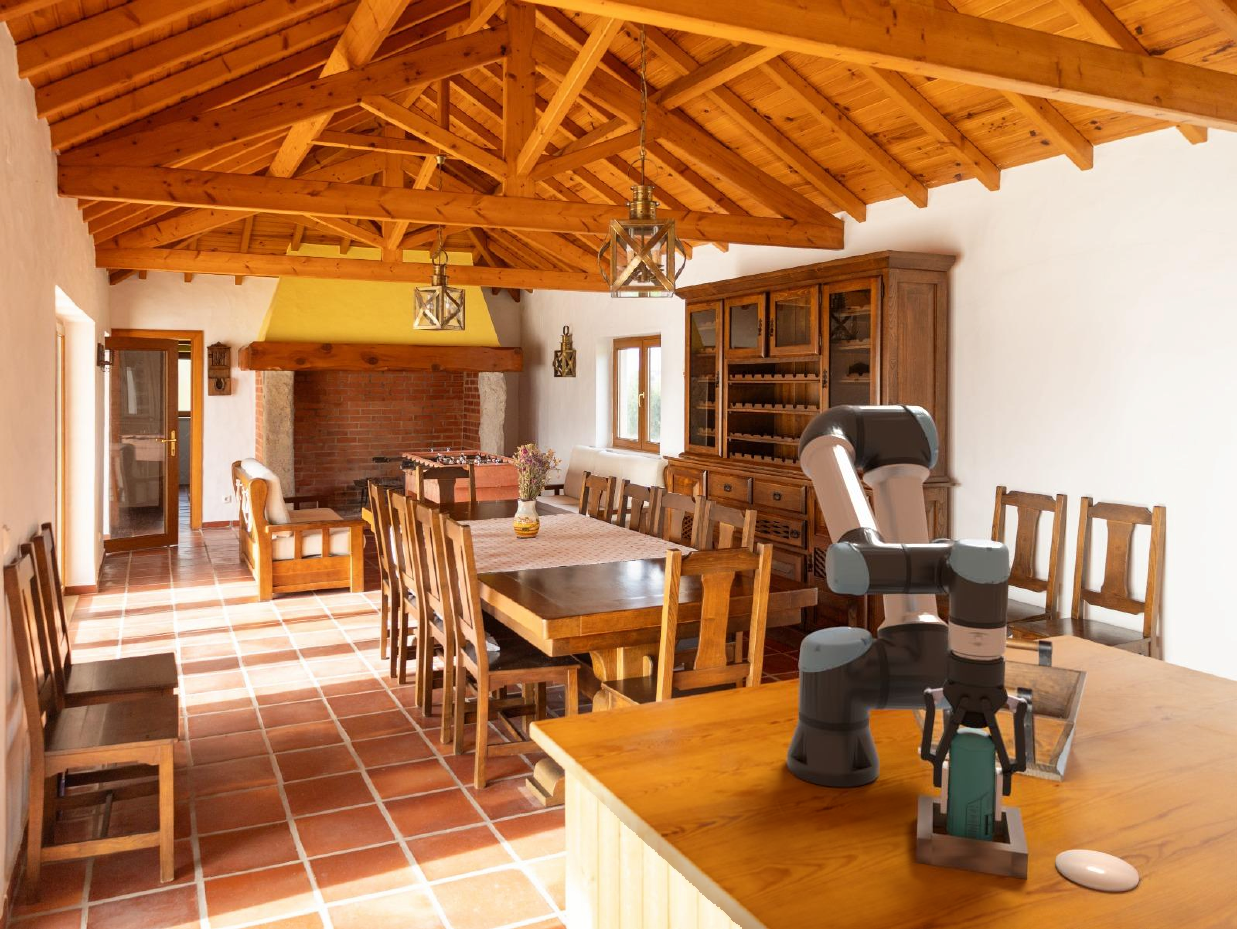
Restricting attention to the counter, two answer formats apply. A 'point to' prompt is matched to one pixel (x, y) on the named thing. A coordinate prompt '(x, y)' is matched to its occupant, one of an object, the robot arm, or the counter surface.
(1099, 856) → the coaster
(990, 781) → the beverage bottle
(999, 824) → the holder
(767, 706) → the counter surface
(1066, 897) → the counter surface
